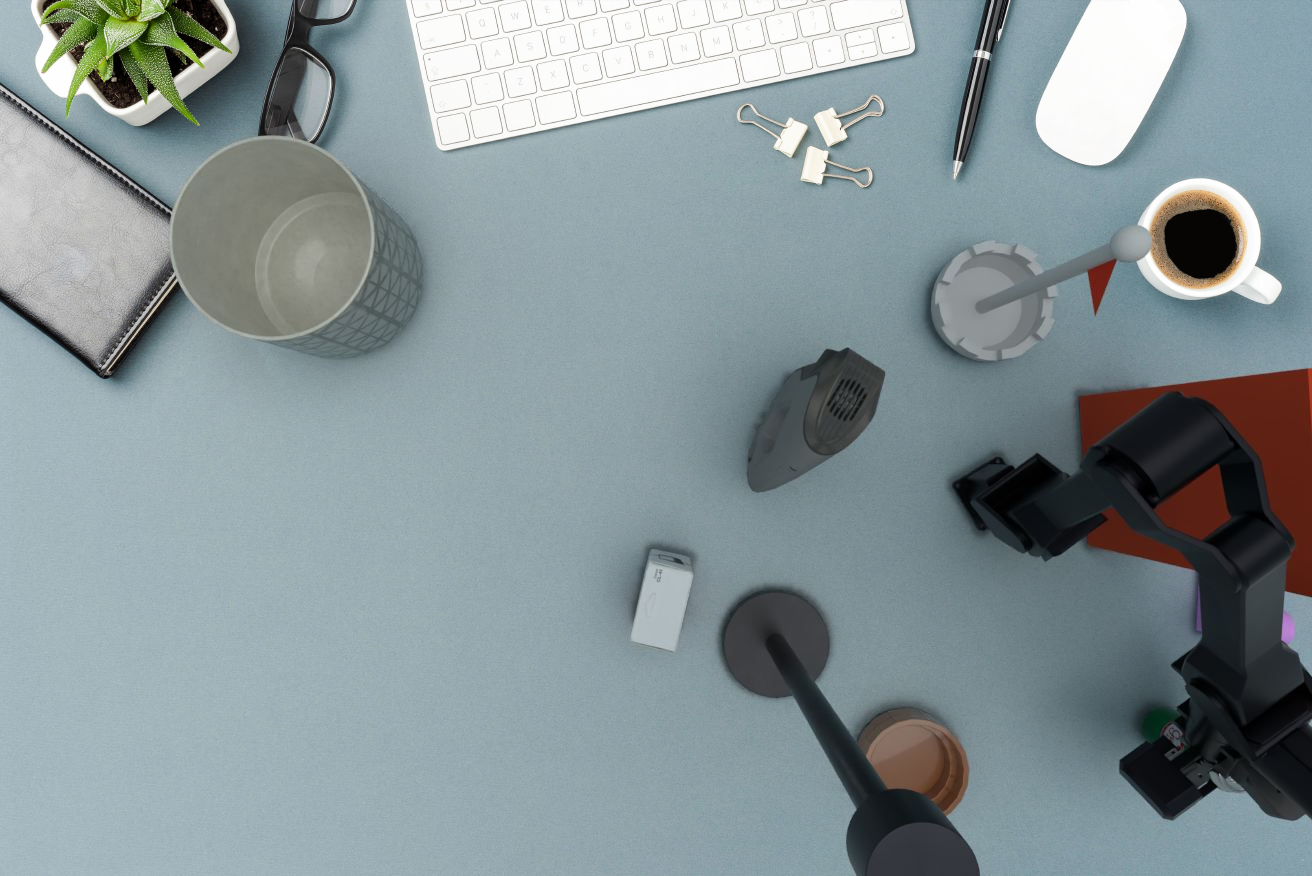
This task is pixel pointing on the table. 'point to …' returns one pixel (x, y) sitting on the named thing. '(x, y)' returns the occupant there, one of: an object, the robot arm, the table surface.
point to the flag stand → (1017, 293)
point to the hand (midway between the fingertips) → (1208, 760)
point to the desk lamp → (840, 741)
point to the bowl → (917, 756)
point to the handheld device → (814, 417)
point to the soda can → (1162, 724)
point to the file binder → (1270, 420)
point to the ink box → (662, 601)
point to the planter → (293, 250)
